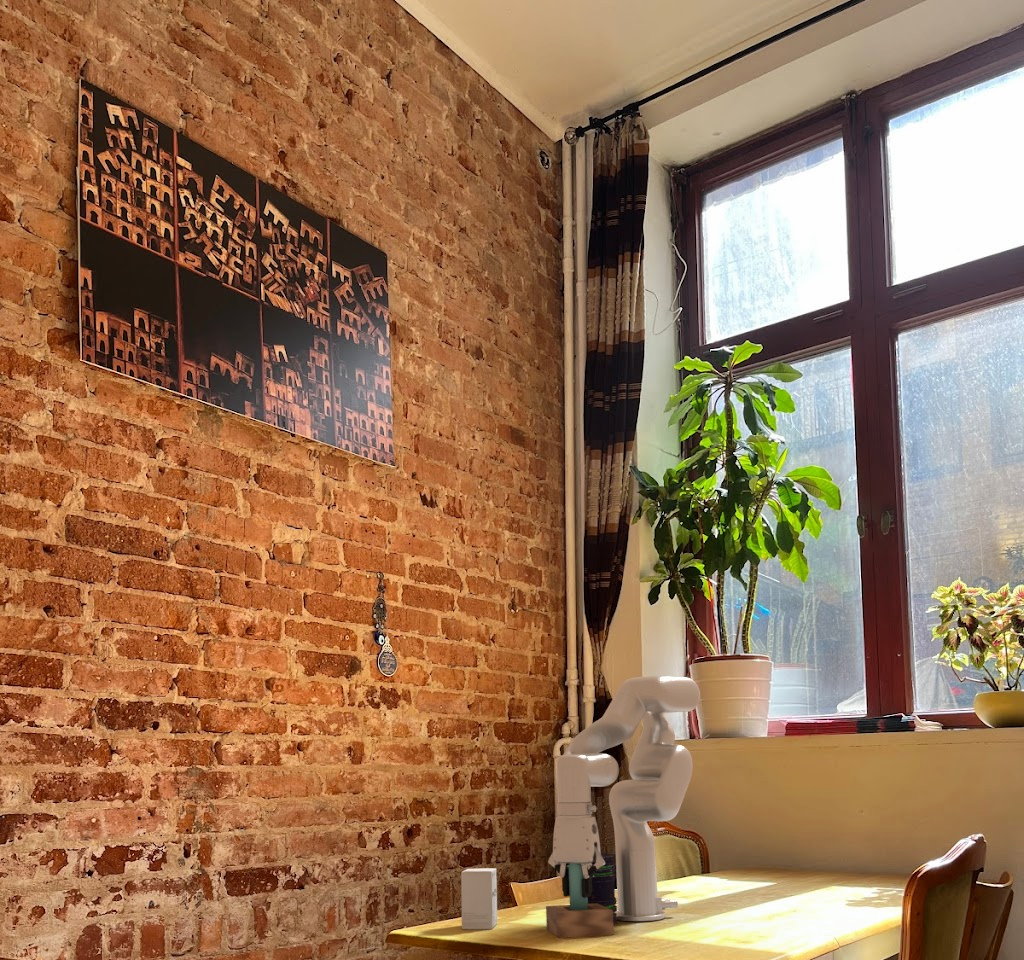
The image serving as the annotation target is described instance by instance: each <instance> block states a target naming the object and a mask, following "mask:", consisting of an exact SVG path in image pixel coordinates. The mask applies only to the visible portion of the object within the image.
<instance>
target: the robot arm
mask: <svg viewBox="0 0 1024 960" xmlns="http://www.w3.org/2000/svg"><path fill="white" fill-rule="evenodd" d="M700 700H701V691H700V688H699V686H698V684H697V682H695V680H693V679H692V678H690V677H682V676H681V677H679V676H665V675H662V676H661V675H654V676H652V675H651V676H638V677H637V676H636V677H631V678H628V679H627V678H626V680H624V681H623V682H622V683H621V685H620V686H619V688H618V689H617V692H616V693H615V695H614V696H613V698H612V700H611V702H610V703H609V705H608V707H607V709H605V712H604V714H603V715H602V717H601V718H599V719H598V720H596V721H594V722H593V723H592V724H589V726H587V727H586V728H584V729H583V730H581V732H579V733H577V734H576V736H575V737H574V738H573V739H572V740H571V741H570V743H569V745H567V747H566V749H565V751H564V753H563V754H562V755H560V756H558V758H557V760H556V777H557V778H556V780H557V784H556V785H557V811H558V812H557V813H558V815H557V816H556V817H555V820H554V821H555V822H554V827H553V839H552V840H553V841H552V852H551V855H550V856H549V858H548V861H547V863H548V864H549V865H551V867H553V868H554V870H556V872H557V874H559V877H560V878H561V887H562V890H561V891H562V892H563V897H565V898H566V897H570V896H569V865H568V863H574V864H581V865H582V870H583V875H584V878H582V897H583V898H586V897H590V896H591V893H592V877H594V874H595V873H596V872H597V871H598V869H600V868H601V867H602V866H604V865H605V861H604V859H603V858H602V856H601V854H602V853H601V842H600V835H599V829H598V828H599V827H598V823H597V819H596V816H592V815H593V813H596V812H597V806H596V805H593V802H592V794H591V793H592V791H591V787H594V788H595V787H599V788H601V787H608V786H610V785H612V784H613V783H615V782H616V780H617V779H618V777H619V773H620V769H619V768H620V767H619V763H618V761H617V760H616V759H615V758H614V757H613V756H612V755H610V754H607V753H605V752H604V753H603V751H605V750H607V749H610V748H613V747H616V746H619V745H620V744H623V743H625V742H627V741H628V740H630V739H632V738H633V736H634V734H635V732H636V730H637V729H638V726H639V725H640V723H641V722H642V729H641V730H642V731H641V734H640V737H639V739H638V741H637V743H636V746H635V748H634V750H633V753H632V756H631V759H630V761H629V765H628V773H629V774H630V777H631V778H632V779H626V780H625V779H623V780H620V781H619V782H617V783H615V784H614V785H613V786H612V787H611V789H610V791H609V794H608V801H609V802H608V805H609V810H610V813H611V818H612V821H613V831H614V843H615V844H614V848H615V873H616V887H617V889H616V891H617V895H616V896H617V911H616V912H614V913H616V914H617V915H616V920H617V921H624V922H651V921H652V922H653V921H658V920H659V921H660V920H662V919H665V918H666V913H665V910H666V909H677V908H678V906H679V904H678V900H677V899H664V898H663V897H660V896H659V895H658V880H657V879H658V877H657V875H658V874H657V858H656V842H655V836H654V833H653V832H652V830H651V828H650V826H649V824H648V822H668V821H671V820H673V819H674V818H676V816H677V814H678V813H679V811H680V809H681V807H682V806H681V805H682V804H683V801H684V800H685V799H684V798H685V796H686V792H687V790H688V787H689V785H690V782H691V780H692V775H693V767H694V766H693V765H694V764H693V758H692V754H691V752H690V751H689V749H687V748H686V747H685V746H684V745H681V744H677V743H675V740H676V733H675V730H674V728H673V725H672V724H671V723H670V721H669V720H668V718H667V716H666V713H668V714H669V713H687V712H693V710H695V709H696V708H697V707H698V705H699V703H700ZM592 862H596V863H595V864H594V865H593V866H592Z"/></svg>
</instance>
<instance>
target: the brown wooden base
mask: <svg viewBox="0 0 1024 960" xmlns="http://www.w3.org/2000/svg"><path fill="white" fill-rule="evenodd" d="M545 914H546V915H545V917H546V920H545V921H546V930H547V931H548V932H550V933H551V934H553V935H554V934H555V936H556V937H558V938H559V937H560V938H559V939H565V938H566V939H567V937H571V938H583V937H601V936H614V935H615V934H614V933H615V932H614V931H615V928H614V925H613V910H611V909H609V908H606V907H604V906H602V905H600V904H597V903H594V904H588V910H574V911H570V904H563V905H546V906H545Z"/></svg>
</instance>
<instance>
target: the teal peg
mask: <svg viewBox="0 0 1024 960" xmlns="http://www.w3.org/2000/svg"><path fill="white" fill-rule="evenodd" d="M568 865H569V896H568V897H569V905H570V911H574V910H588V897H586V898H583V897H582V878H584V875H583V870H582V865H581V864H574V863H568Z"/></svg>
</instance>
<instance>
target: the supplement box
mask: <svg viewBox="0 0 1024 960" xmlns="http://www.w3.org/2000/svg"><path fill="white" fill-rule="evenodd" d="M460 874H461V875H460V878H461V883H460V885H461V887H460V889H461V893H460V895H461V901H460V902H461V929H462V930H493V928H494V927H496V926H497V925H498V890H497V889H498V888H497V885H498V884H497V883H498V881H497V878H498V877H497V868H496V867H495V868H490V867H486V868H485V867H482V868H481V867H480V868H466V869H465V870H462V871H461V872H460ZM496 924H497V925H496Z"/></svg>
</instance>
